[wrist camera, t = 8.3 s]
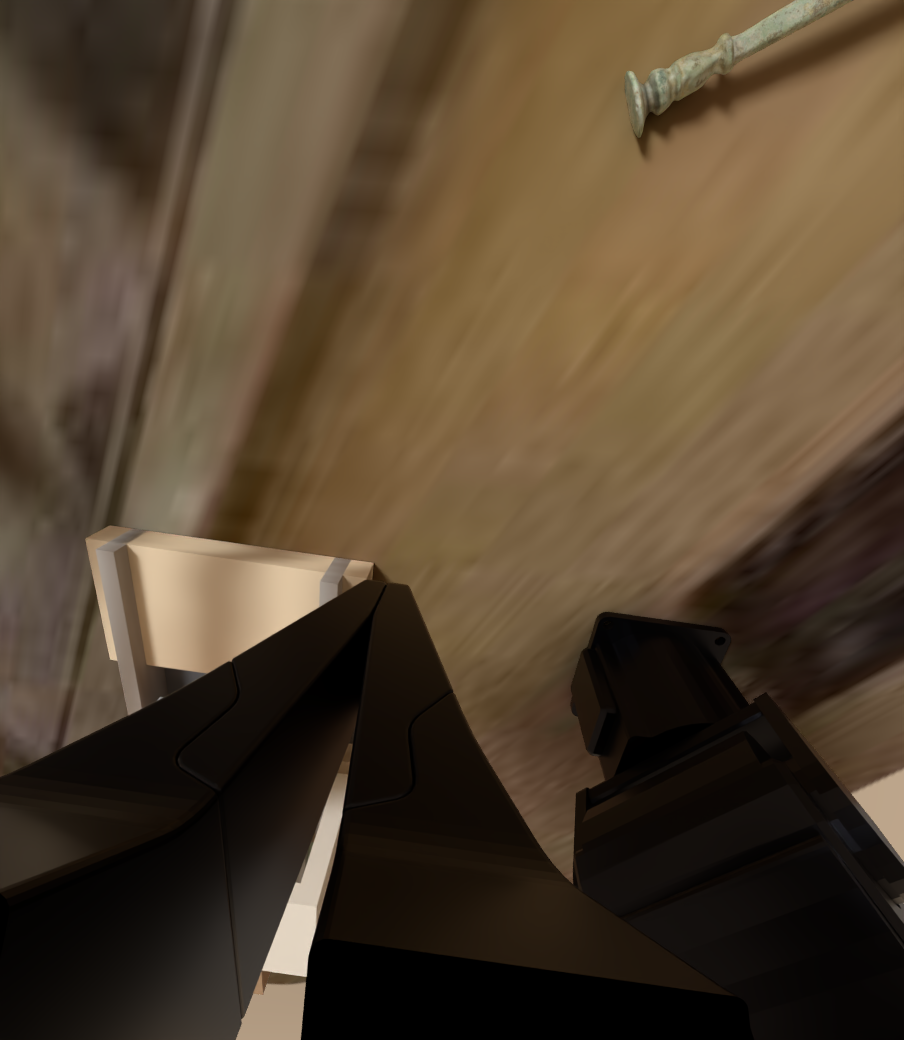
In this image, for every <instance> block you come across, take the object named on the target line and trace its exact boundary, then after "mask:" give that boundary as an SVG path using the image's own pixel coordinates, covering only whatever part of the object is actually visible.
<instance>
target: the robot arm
mask: <svg viewBox="0 0 904 1040" xmlns="http://www.w3.org/2000/svg"><path fill="white" fill-rule="evenodd" d="M606 621H611V623H610V624H608V625H604V622H606ZM718 637H721V638H720V639H718V640H716V638H718ZM730 642H731V638H730V636H729V634H728V633H727V632H726V631H725V630H724V629H722V628H718V627H711V626H704V625H697V624H690V623H683V622H676V621H669V620H662V619H655V618H648V617H641V616H633V615H626V614H619V613H612V612H604V613H601V614H600V615H598V617H597V618H596V621H595V625H594V628H593V631H592V634H591V638H590V641H589V644H588V647H587V648H585V649H584V650H583V651H582V652H581V655H580V658H579V661H578V665H577V668H576V671H575V675H574V678H573V681H572V685H571V692H572V695H573V696H572V700H571V703H570V706H571V710H572V713H573V714H574V715H575V716H578V719H579V723H580V727H581V731H582V734H583V738H584V742H585V746H586V750H587V751H588V752H589V754H590V755H593V756H599V760H600V764H601V767H602V771H603V774H604V778H605V781H604V782H602V783H600V784H598V785H596V786H594V787H593V788H591V789H589V788H585V789H583V790H581V791H579V792H577V793H576V807H575V833H574V859H573V884H572V883H571V882H570V881H569V880H568V879H567V878H565V877H564V876H563V875H562V873H561V872H560V871H559V870H558V869H557V868H556V867H555V866H554V864H553V863H552V862H551V861H550V859H549V858H548V857H547V855H546V854H545V853H544V851H543V850H542V848H541V847H540V845H539V844H538V842H537V840H536V839H535V837H534V836H533V834H532V832H531V831H530V829H529V827H528V826H527V824H526V823H525V821H524V819H523V818H522V816H521V814H520V813H519V811H518V809H517V808H516V806H515V804H514V803H513V801H512V799H511V798H510V796H509V795H508V793H507V791H506V790H505V788H504V786H503V785H502V783H501V781H500V780H499V778H498V776H497V775H496V773H495V772H494V770H493V768H492V767H491V765H490V763H489V762H488V760H487V758H486V756H485V754H484V753H483V751H482V749H481V747H480V746H479V744H478V742H477V740H476V739H475V737H474V735H473V733H472V731H471V729H470V727H469V725H468V722H467V720H466V718H465V716H464V714H463V712H462V710H461V707H460V705H459V702H458V700H457V698H456V695H455V694H454V693H453V689H452V686H451V684H450V682H449V679H448V677H447V675H446V672H445V670H444V667H443V665H442V663H441V660H440V658H439V656H438V653H437V651H436V648H435V646H434V644H433V641H432V639H431V637H430V634H429V632H428V629H427V627H426V625H425V622H424V620H423V618H422V615H421V613H420V610H419V608H418V606H417V603H416V601H415V599H414V596H413V594H412V591H411V589H410V587H409V586H408V585H405V584H398V583H388V584H386V583H385V582H383V581H377V580H370V579H366V580H364V581H362V582H360V583H359V584H357V585H355V586H354V587H352V588H350V589H349V590H347V591H345V592H344V593H342V594H340V595H338V596H337V597H335V598H333V599H332V600H330V601H328V602H327V603H325V604H323V605H322V606H320V607H318V608H317V609H315V610H313V611H312V612H310V613H308V614H307V615H305V616H303V617H302V618H300V619H298V620H296V621H295V622H293V623H291V624H290V625H288V626H286V627H285V628H283V629H281V630H280V631H278V632H276V633H275V634H273V635H271V636H270V637H268V638H266V639H265V640H263V641H261V642H260V643H258V644H256V645H254V646H253V647H251V648H249V649H248V650H246V651H244V652H243V653H241V654H239V655H238V656H236V657H234V658H233V659H232V662H231V661H227V662H226V663H224V664H222V665H221V666H219V667H217V668H215V669H214V670H212V671H210V672H209V673H207V674H205V675H203V676H202V677H200V678H198V679H196V680H195V681H193V682H191V683H189V684H188V685H186V686H184V687H182V688H180V689H179V690H177V691H175V692H173V693H171V694H169V695H167V696H165V697H163V698H161V699H160V700H158V701H156V702H154V703H152V704H150V705H148V706H146V707H144V708H142V709H140V710H138V711H136V712H134V713H132V714H130V715H128V716H126V717H124V718H122V719H120V720H118V721H116V722H114V723H112V724H110V725H108V726H106V727H104V728H102V729H100V730H98V731H96V732H94V733H92V734H90V735H88V736H86V737H84V738H82V739H80V740H77V741H75V742H73V743H71V744H69V745H67V746H65V747H63V748H61V749H59V750H57V751H55V752H53V753H51V754H49V755H47V756H45V757H43V758H41V759H39V760H37V761H35V762H33V763H31V764H29V765H27V766H24V767H22V768H20V769H18V770H16V771H13V772H11V773H9V774H7V775H4V776H1V777H0V1040H236V1037H237V1034H238V1032H239V1029H240V1027H241V1023H242V1022H241V1019H242V1018H243V1017H244V1016H245V1013H246V1010H247V1008H248V1005H249V1003H250V1000H251V998H252V995H253V992H254V990H255V987H256V985H257V982H258V979H259V977H260V974H261V971H262V969H263V966H264V964H265V961H266V958H267V956H268V953H269V951H270V948H271V945H272V943H273V940H274V938H275V935H276V932H277V930H278V927H279V924H280V922H281V919H282V917H283V914H284V911H285V909H286V906H287V904H288V901H289V898H290V896H291V893H292V891H293V888H294V885H295V883H296V880H297V877H298V875H299V872H300V870H301V867H302V864H303V862H304V859H305V857H306V854H307V851H308V849H309V846H310V844H311V841H312V838H313V836H314V833H315V830H316V828H317V825H318V823H319V820H320V817H321V815H322V812H323V810H324V807H325V804H326V802H327V799H328V797H329V794H330V791H331V789H332V786H333V783H334V781H335V778H336V776H337V773H338V770H339V768H340V765H341V763H342V760H343V757H344V755H345V752H346V750H347V747H348V744H349V742H350V739H351V736H352V734H353V731H354V729H355V732H354V739H353V745H352V752H351V758H350V765H349V771H348V778H347V784H346V791H345V797H344V804H343V810H342V818H341V823H340V830H339V835H338V841H337V847H336V852H335V857H334V862H333V866H332V870H331V874H330V878H329V881H328V885H327V889H326V892H325V896H324V900H323V903H322V907H321V911H320V915H319V918H318V922H317V926H316V929H315V933H314V937H313V940H312V944H311V948H310V952H309V955H308V965H307V976H306V987H305V999H304V1011H303V1021H302V1033H301V1040H904V862H903V860H902V859H901V858H900V856H899V855H898V854H897V852H896V851H895V850H894V848H893V847H892V846H891V844H890V843H889V842H888V840H887V839H886V838H885V836H884V835H883V834H882V832H881V831H880V830H879V828H878V827H877V825H876V824H875V823H874V822H873V820H872V819H871V818H870V817H869V815H868V814H867V813H866V812H865V810H864V809H863V808H862V807H861V805H860V804H859V803H858V802H857V801H856V799H855V798H854V797H853V796H852V794H851V793H850V792H849V791H848V789H847V788H846V787H845V786H844V784H843V783H842V782H841V781H840V780H839V778H838V777H837V776H836V775H835V773H834V772H833V771H832V770H831V768H830V767H829V766H828V765H827V764H826V762H825V761H824V760H823V759H822V758H821V756H820V755H819V754H818V753H817V752H816V750H815V749H814V748H813V747H812V746H811V745H810V743H809V742H808V741H807V740H806V739H805V738H804V736H803V735H802V734H801V733H800V732H799V730H798V729H797V728H796V727H795V726H794V725H793V723H792V722H791V721H790V720H789V719H788V717H787V716H786V715H785V714H784V713H783V712H782V710H781V709H780V708H779V707H778V706H777V704H776V703H775V702H774V701H773V700H772V699H771V697H770V696H769V695H768V694H767V693H764V694H762V695H761V696H759V697H757V698H755V699H753V700H754V703H752V704H750V705H749V704H748V702H747V701H746V699H745V698H744V697H743V695H742V694H741V693H740V691H739V690H738V688H737V687H736V686H735V684H734V683H733V681H732V680H731V679H730V677H729V676H728V674H727V673H726V672H725V670H724V669H723V668H722V666H721V665H720V664H721V662H722V660H723V658H724V655H725V653H726V651H727V649H728V647H729V645H730Z"/></svg>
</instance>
